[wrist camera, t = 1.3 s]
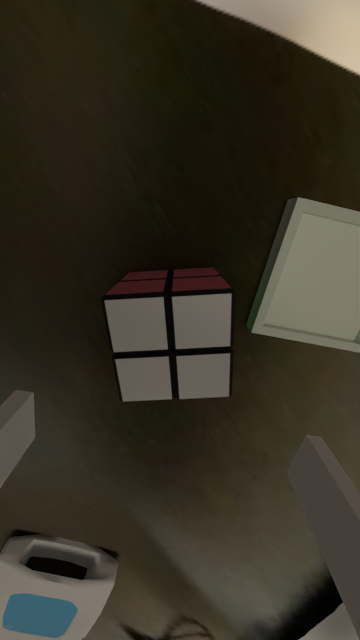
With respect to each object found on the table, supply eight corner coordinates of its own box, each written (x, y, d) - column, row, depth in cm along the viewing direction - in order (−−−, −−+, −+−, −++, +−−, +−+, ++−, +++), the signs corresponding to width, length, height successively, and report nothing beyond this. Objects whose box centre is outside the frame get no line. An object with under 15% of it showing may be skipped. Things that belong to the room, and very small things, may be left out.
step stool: (121, 549, 47) (113, 595, 41) (85, 609, 56) (74, 653, 51) (14, 525, 44) (-11, 571, 38) (-6, 593, 53) (-28, 638, 47)
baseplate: (246, 324, 29) (251, 332, 27) (287, 199, 24) (298, 197, 21) (350, 344, 30) (363, 353, 28) (412, 229, 25) (433, 229, 23)
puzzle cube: (126, 271, 26) (98, 296, 17) (215, 266, 26) (236, 288, 17) (137, 350, 30) (119, 405, 21) (215, 345, 30) (233, 399, 20)
